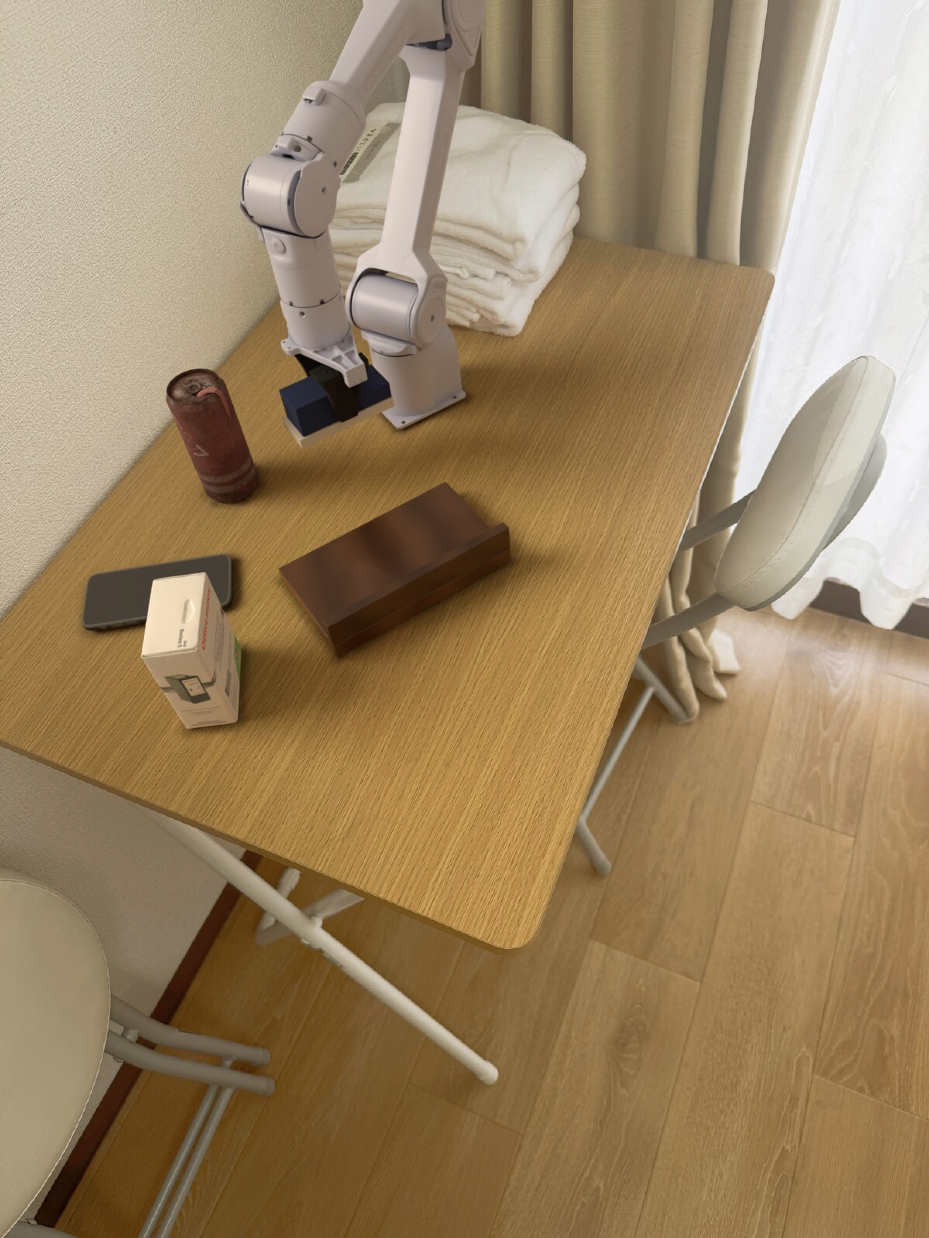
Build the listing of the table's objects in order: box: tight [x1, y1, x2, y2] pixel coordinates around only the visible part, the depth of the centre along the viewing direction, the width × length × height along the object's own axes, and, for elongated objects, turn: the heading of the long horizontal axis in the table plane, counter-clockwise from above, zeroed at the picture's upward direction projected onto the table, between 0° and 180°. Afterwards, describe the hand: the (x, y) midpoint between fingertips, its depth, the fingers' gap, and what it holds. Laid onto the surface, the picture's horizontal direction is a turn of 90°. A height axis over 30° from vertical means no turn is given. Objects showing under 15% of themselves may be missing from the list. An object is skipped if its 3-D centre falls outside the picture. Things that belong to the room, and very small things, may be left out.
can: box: [165, 367, 259, 504], centre depth 97 cm, size 6×6×14 cm
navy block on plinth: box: [278, 363, 394, 450], centre depth 95 cm, size 11×4×5 cm, turn 122°
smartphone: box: [81, 553, 234, 632], centre depth 93 cm, size 7×1×15 cm
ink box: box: [140, 573, 243, 730], centre depth 81 cm, size 9×5×12 cm, turn 5°
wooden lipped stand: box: [277, 481, 512, 659], centre depth 90 cm, size 20×12×5 cm, turn 123°
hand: (338, 405), depth 96 cm, fingers closed on navy block on plinth, 4 cm apart
